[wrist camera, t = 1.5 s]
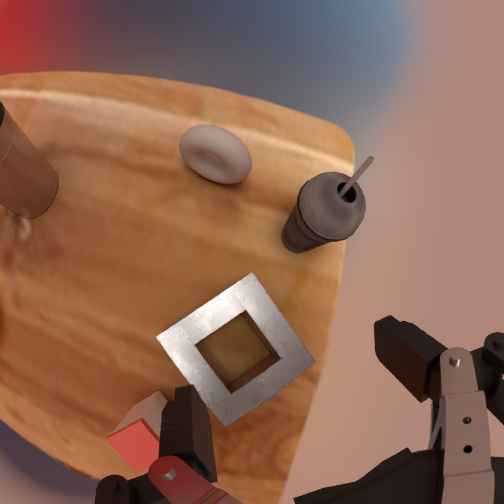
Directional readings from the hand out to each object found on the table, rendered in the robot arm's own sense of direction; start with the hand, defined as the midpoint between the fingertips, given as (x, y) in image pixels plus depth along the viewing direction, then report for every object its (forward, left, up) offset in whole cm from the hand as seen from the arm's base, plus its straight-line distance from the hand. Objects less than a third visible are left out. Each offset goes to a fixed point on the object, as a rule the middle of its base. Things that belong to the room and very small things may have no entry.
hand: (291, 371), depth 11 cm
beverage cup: (+10, +12, -26) cm, 30 cm away
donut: (-1, +22, -26) cm, 34 cm away
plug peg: (-11, -10, -26) cm, 29 cm away
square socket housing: (0, -2, -26) cm, 26 cm away
